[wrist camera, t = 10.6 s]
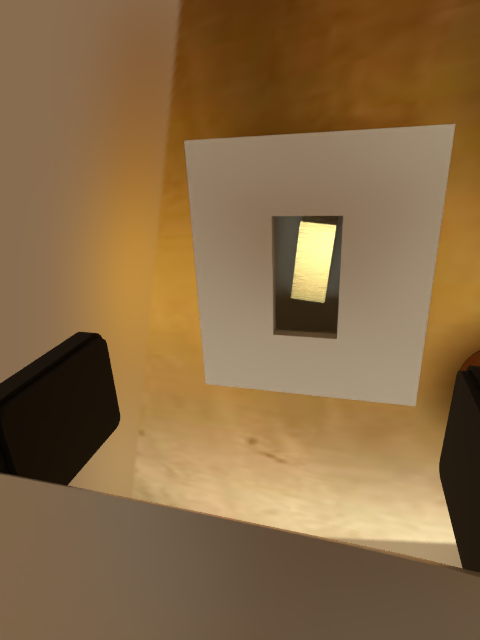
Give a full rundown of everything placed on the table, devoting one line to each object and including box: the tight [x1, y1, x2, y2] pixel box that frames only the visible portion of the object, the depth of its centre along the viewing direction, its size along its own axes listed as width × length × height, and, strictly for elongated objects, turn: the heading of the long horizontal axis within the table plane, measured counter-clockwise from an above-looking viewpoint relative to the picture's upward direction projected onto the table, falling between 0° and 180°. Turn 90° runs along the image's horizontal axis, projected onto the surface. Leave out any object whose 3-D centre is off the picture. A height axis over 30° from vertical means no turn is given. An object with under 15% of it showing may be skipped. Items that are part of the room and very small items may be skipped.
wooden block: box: [291, 216, 339, 303], centre depth 30 cm, size 5×2×6 cm
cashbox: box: [184, 124, 455, 406], centre depth 28 cm, size 16×14×10 cm
